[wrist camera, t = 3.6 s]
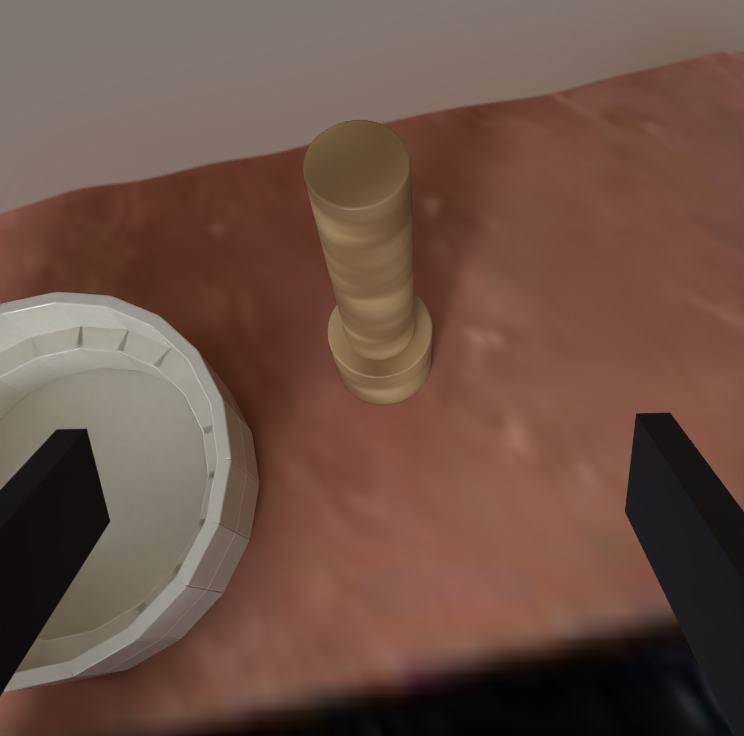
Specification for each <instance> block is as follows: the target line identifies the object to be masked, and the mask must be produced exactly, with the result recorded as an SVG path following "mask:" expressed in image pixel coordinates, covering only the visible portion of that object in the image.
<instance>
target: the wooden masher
mask: <svg viewBox="0 0 744 736" xmlns="http://www.w3.org/2000/svg"><path fill="white" fill-rule="evenodd" d="M303 174H304V179H305V183H306V187H307V191H308V195H309V198H310V202H311V206H312V210H313V214H314V218H315V221H316V225H317V229H318V233H319V237H320V241H321V245H322V248H323V252H324V256H325V260H326V264H327V268H328V271H329V275H330V279H331V283H332V287H333V291H334V294H335V298H336V302H337V305H336V306H335V308H334V310H333V311H332V314H331V316H330V319H329V323H328V340H329V344H330V347H331V351H332V354H333V357H334V360H335V363H336V366H337V369H338V372H339V375H340V378H341V380H342V382H343V383H344V385H345V386H346V388H347V389H348V390H349V391H350V392H351V393H352V394H353V395H355V396H356V397H358V398H360V399H362V400H364V401H366V402H369V403H373V404H382V405H384V404H393V403H397V402H401V401H403V400H405V399H407V398H409V397H411V396H412V395H413V394H415V393H416V392H417V391H418V390H419V389H420V388H421V387H422V385H423V384H424V383H425V381H426V379H427V377H428V375H429V372H430V368H431V356H432V321H431V316H430V314H429V311H428V309H427V307H426V306H425V304H424V303H423V301H422V300H421V299H420V298H419V297H418V296H417V295H416V294H414V275H413V234H412V192H411V159H410V154H409V151H408V148H407V146H406V144H405V143H404V141H403V140H402V139H401V137H400V136H399V135H398V134H397V133H396V132H395V131H393V130H392V129H390V128H389V127H387V126H385V125H382V124H380V123H377V122H373V121H366V120H353V121H346V122H343V123H339V124H337V125H334V126H332V127H330V128H328V129H326V130H325V131H324V132H322V133H321V134H320V135H319V136H318V137H317V138H316V139H315V140H314V141H313V142H312V143H311V145H310V146H309V148H308V150H307V152H306V155H305V158H304V163H303Z"/></svg>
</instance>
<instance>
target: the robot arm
mask: <svg viewBox="0 0 744 736" xmlns="http://www.w3.org/2000/svg"><path fill="white" fill-rule="evenodd" d="M625 513H626V515H627V517H628V519H629V521H630V523H631V525H632V527H633V529H634V531H635V533H636V536H637V538H638V540H639V542H640V544H641V546H642V548H643V550H644V552H645V554H646V556H647V558H648V560H649V562H650V564H651V567H652V569H653V571H654V573H655V575H656V577H657V579H658V581H659V583H660V585H661V587H662V589H663V591H664V593H665V595H666V598H667V600H668V602H669V604H670V606H671V608H672V610H673V612H674V614H675V616H676V618H677V620H678V622H679V624H680V626H681V629H682V631H683V633H684V635H685V637H686V639H687V641H688V643H689V645H690V647H691V649H692V651H693V653H694V655H695V657H696V660H697V662H698V664H699V666H700V668H701V670H702V672H703V674H704V676H705V678H706V680H707V682H708V684H709V686H710V689H711V691H712V693H713V695H714V697H715V699H716V701H717V703H718V705H719V707H720V709H721V711H722V713H723V715H724V717H725V720H726V722H727V724H728V726H729V728H730V730H731V732H732V734H733V736H744V512H743V510H742V509H741V507H740V506H739V505H738V503H737V502H736V501H735V499H734V498H733V497H732V495H731V494H730V493H729V491H728V490H727V489H726V487H725V486H724V485H723V483H722V482H721V481H720V479H719V478H718V477H717V475H716V474H715V473H714V471H713V470H712V468H711V467H710V466H709V464H708V463H707V462H706V460H705V459H704V458H703V456H702V455H701V454H700V452H699V451H698V450H697V448H696V447H695V446H694V444H693V443H692V442H691V440H690V439H689V438H688V436H687V435H686V434H685V432H684V431H683V430H682V428H681V427H680V425H679V424H678V423H677V421H676V420H675V419H674V417H673V416H672V415H671V413H641V414H636V420H635V429H634V438H633V446H632V455H631V464H630V472H629V481H628V490H627V498H626V507H625ZM109 523H110V518H109V514H108V510H107V506H106V502H105V498H104V494H103V490H102V486H101V482H100V478H99V474H98V470H97V466H96V462H95V459H94V455H93V451H92V447H91V443H90V439H89V435H88V431H87V429H56V430H55V432H54V433H53V434H52V435H51V436H50V437H49V438H48V439H47V440H46V441H45V442H44V443H43V444H42V445H41V447H40V448H39V449H38V450H37V451H36V452H35V453H34V454H33V455H32V456H31V457H30V458H29V459H28V461H27V462H26V463H25V464H24V465H23V466H22V467H21V468H20V469H19V470H18V471H17V472H16V473H15V475H14V476H13V477H12V478H11V479H10V480H9V481H8V482H7V483H6V484H5V485H4V486H3V487H2V488H1V490H0V696H1V694H2V692H3V691H4V689H5V688H6V686H7V685H8V683H9V681H10V680H11V678H12V677H13V675H14V673H15V672H16V670H17V669H18V667H19V666H20V664H21V662H22V661H23V659H24V658H25V656H26V654H27V653H28V651H29V650H30V648H31V646H32V645H33V643H34V642H35V640H36V639H37V637H38V635H39V634H40V632H41V631H42V629H43V627H44V626H45V624H46V623H47V621H48V620H49V618H50V616H51V615H52V613H53V612H54V610H55V608H56V607H57V605H58V604H59V602H60V601H61V599H62V597H63V596H64V594H65V593H66V591H67V589H68V588H69V586H70V585H71V583H72V582H73V580H74V578H75V577H76V575H77V574H78V572H79V570H80V569H81V567H82V566H83V564H84V562H85V561H86V559H87V558H88V556H89V555H90V553H91V551H92V550H93V548H94V547H95V545H96V543H97V542H98V540H99V539H100V537H101V536H102V534H103V532H104V531H105V529H106V528H107V526H108V524H109Z"/></svg>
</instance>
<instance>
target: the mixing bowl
mask: <svg viewBox="0 0 744 736" xmlns="http://www.w3.org/2000/svg"><path fill="white" fill-rule="evenodd" d="M56 429H87V431H88V435H89V439H90V443H91V447H92V451H93V455H94V459H95V462H96V466H97V470H98V474H99V478H100V482H101V486H102V490H103V494H104V498H105V502H106V506H107V510H108V514H109V518H110V523H109V524H108V526H107V528H106V529H105V531H104V532H103V534H102V536H101V537H100V539H99V540H98V542H97V543H96V545H95V547H94V548H93V550H92V551H91V553H90V555H89V556H88V558H87V559H86V561H85V562H84V564H83V566H82V567H81V569H80V570H79V572H78V574H77V575H76V577H75V578H74V580H73V582H72V583H71V585H70V586H69V588H68V589H67V591H66V593H65V594H64V596H63V597H62V599H61V601H60V602H59V604H58V605H57V607H56V608H55V610H54V612H53V613H52V615H51V616H50V618H49V620H48V621H47V623H46V624H45V626H44V627H43V629H42V631H41V632H40V634H39V635H38V637H37V639H36V640H35V642H34V643H33V645H32V646H31V648H30V650H29V651H28V653H27V654H26V656H25V658H24V659H23V661H22V662H21V664H20V666H19V667H18V669H17V670H16V672H15V673H14V675H13V677H12V678H11V680H10V681H9V683H8V685H7V686H6V688H5V689H4V691H3V692H10V691H17V690H24V689H31V688H37V687H43V686H50V685H57V684H64V683H70V682H76V681H80V680H85V679H89V678H94V677H98V676H103V675H107V674H112V673H116V672H121V671H125V670H127V669H131V668H132V667H134V666H136V665H137V664H139V663H141V662H143V661H144V660H146V659H148V658H149V657H151V656H153V655H154V654H156V653H158V652H160V651H161V650H163V649H165V648H166V647H168V646H170V645H171V644H173V643H175V642H177V641H178V640H180V639H181V638H182V637H183V636H184V635H185V634H186V633H187V632H188V631H189V630H190V629H191V628H192V627H193V626H194V625H195V623H196V622H197V621H198V620H199V619H200V618H201V617H202V616H203V615H204V614H205V613H206V612H207V610H208V609H209V608H210V607H211V606H212V605H213V604H214V603H215V602H216V601H217V600H218V599H219V597H220V596H221V595H222V594H223V592H224V591H225V589H226V587H227V585H228V583H229V581H230V579H231V577H232V575H233V573H234V571H235V569H236V567H237V565H238V563H239V561H240V559H241V557H242V555H243V553H244V551H245V549H246V547H247V545H248V543H249V539H250V537H251V531H252V525H253V519H254V513H255V507H256V501H257V495H258V489H259V477H258V470H257V463H256V457H255V450H254V443H253V436H252V433H251V430H250V428H249V426H248V424H247V422H246V420H245V418H244V416H243V414H242V412H241V410H240V409H239V407H238V405H237V403H236V401H235V399H234V397H233V395H232V393H231V391H230V390H229V388H228V387H227V386H226V385H225V383H224V382H223V381H222V380H221V378H220V377H219V376H218V375H217V373H216V372H215V371H214V370H213V368H212V367H211V366H210V365H209V363H208V362H207V361H206V360H205V358H204V357H203V356H202V355H201V353H200V352H199V351H198V350H197V349H196V348H195V347H194V346H193V345H192V344H191V343H189V342H188V341H187V340H186V339H185V338H184V337H183V336H182V335H181V334H180V333H178V332H177V331H176V330H175V329H174V328H173V327H172V326H171V325H170V324H169V323H167V322H166V321H165V320H164V319H163V318H162V317H161V316H159V315H157V314H155V313H152V312H150V311H148V310H145V309H143V308H140V307H138V306H135V305H133V304H130V303H128V302H126V301H123V300H121V299H118V298H116V297H113V296H110V295H97V294H83V293H69V292H52V293H47V294H43V295H38V296H33V297H29V298H24V299H19V300H15V301H10V302H5V303H2V304H0V490H1V488H2V487H3V486H4V485H5V484H6V483H7V482H8V481H9V480H10V479H11V478H12V477H13V476H14V475H15V473H16V472H17V471H18V470H19V469H20V468H21V467H22V466H23V465H24V464H25V463H26V462H27V461H28V459H29V458H30V457H31V456H32V455H33V454H34V453H35V452H36V451H37V450H38V449H39V448H40V447H41V445H42V444H43V443H44V442H45V441H46V440H47V439H48V438H49V437H50V436H51V435H52V434H53V433H54V432H55V430H56Z"/></svg>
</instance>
